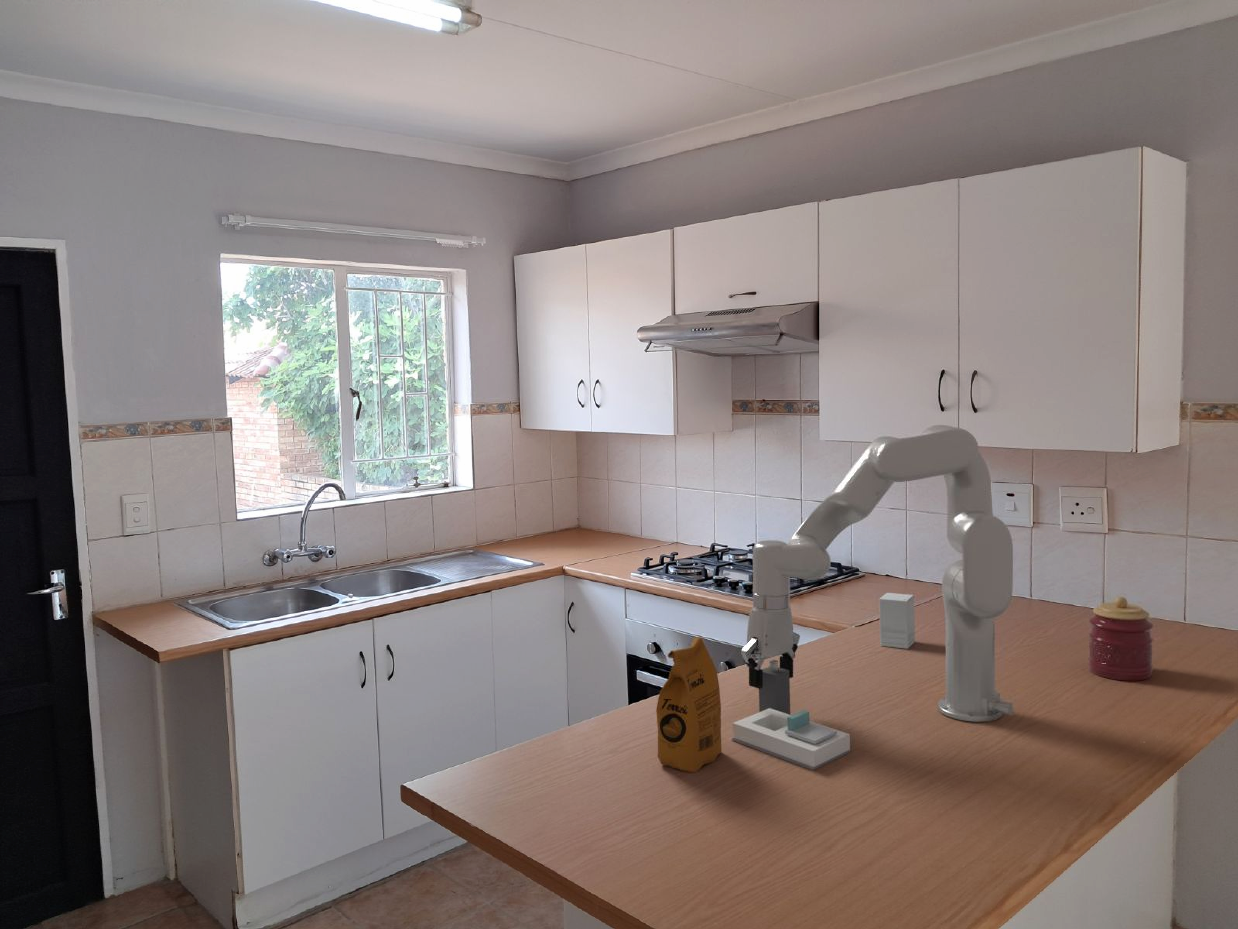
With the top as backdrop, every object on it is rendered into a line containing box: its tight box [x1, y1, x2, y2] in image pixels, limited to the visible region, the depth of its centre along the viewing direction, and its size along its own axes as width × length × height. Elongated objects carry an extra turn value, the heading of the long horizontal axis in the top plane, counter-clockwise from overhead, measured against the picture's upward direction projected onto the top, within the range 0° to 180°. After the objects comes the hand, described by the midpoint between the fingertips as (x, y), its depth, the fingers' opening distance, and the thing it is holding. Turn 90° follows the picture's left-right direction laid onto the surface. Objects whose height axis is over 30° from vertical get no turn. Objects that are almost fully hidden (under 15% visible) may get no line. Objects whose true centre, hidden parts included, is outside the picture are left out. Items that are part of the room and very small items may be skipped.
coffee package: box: [655, 636, 722, 773], centre depth 171 cm, size 10×12×22 cm
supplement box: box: [878, 592, 916, 650], centre depth 238 cm, size 7×7×13 cm
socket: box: [731, 708, 852, 771], centre depth 176 cm, size 20×12×4 cm, turn 41°
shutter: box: [785, 709, 837, 744], centre depth 172 cm, size 7×7×3 cm
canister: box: [1087, 596, 1155, 682], centre depth 209 cm, size 13×13×18 cm
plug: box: [758, 659, 791, 715], centre depth 191 cm, size 4×4×12 cm
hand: (771, 681), depth 191 cm, fingers open, 9 cm apart
